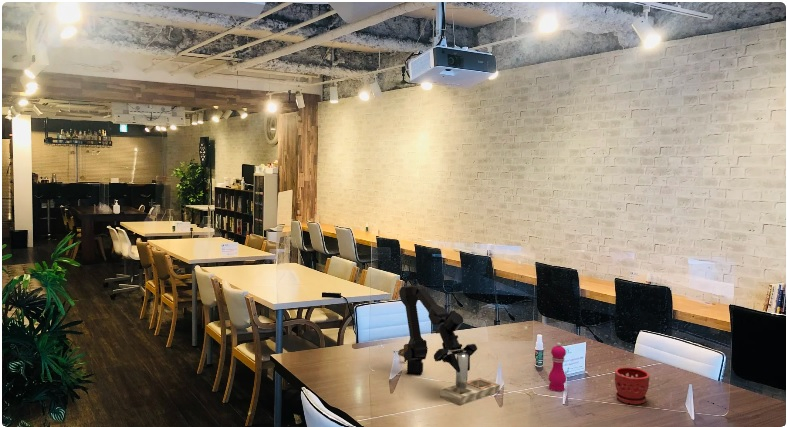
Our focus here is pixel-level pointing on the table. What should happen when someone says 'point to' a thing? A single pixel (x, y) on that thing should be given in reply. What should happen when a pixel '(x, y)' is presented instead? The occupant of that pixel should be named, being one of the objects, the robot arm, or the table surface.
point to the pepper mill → (557, 368)
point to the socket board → (470, 391)
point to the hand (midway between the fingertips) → (464, 371)
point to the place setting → (403, 350)
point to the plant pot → (631, 385)
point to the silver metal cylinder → (462, 370)
